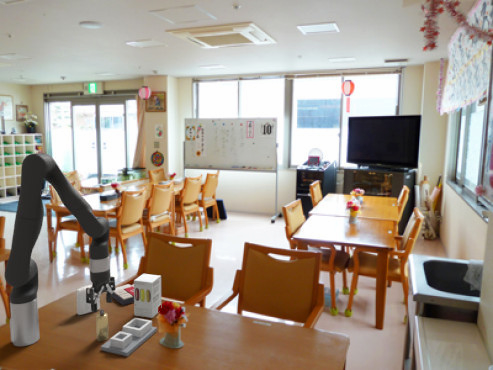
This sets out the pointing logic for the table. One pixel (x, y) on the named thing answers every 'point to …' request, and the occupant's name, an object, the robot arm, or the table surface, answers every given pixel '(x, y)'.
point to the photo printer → (84, 301)
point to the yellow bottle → (102, 326)
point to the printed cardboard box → (124, 294)
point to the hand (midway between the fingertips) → (102, 307)
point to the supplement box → (147, 295)
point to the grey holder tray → (130, 337)
